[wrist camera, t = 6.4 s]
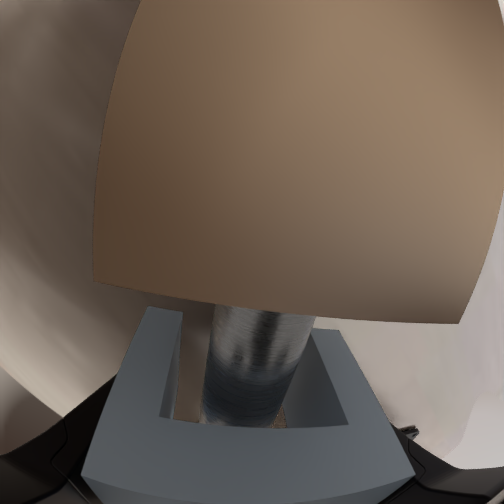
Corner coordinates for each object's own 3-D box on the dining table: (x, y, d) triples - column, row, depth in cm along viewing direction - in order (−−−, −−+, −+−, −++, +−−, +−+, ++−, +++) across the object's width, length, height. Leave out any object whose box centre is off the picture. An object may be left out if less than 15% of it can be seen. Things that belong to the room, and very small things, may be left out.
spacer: (307, 399, 11) (344, 524, 5) (149, 383, 10) (118, 520, 4) (338, 330, 10) (415, 474, 4) (148, 305, 9) (80, 475, 3)
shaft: (212, 80, 7) (192, -3, 2) (365, 119, 8) (479, 105, 3) (172, 462, 13) (166, 526, 9) (248, 469, 14) (255, 532, 9)
